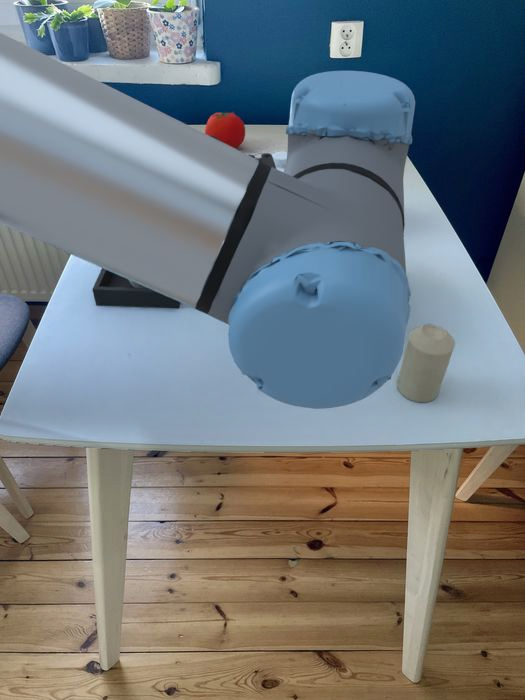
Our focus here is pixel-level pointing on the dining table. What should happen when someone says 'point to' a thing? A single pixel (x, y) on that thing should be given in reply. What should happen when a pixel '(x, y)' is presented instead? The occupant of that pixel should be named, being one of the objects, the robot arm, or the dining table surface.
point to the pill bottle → (280, 160)
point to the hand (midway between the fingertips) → (158, 159)
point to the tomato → (226, 128)
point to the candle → (425, 363)
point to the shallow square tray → (127, 293)
